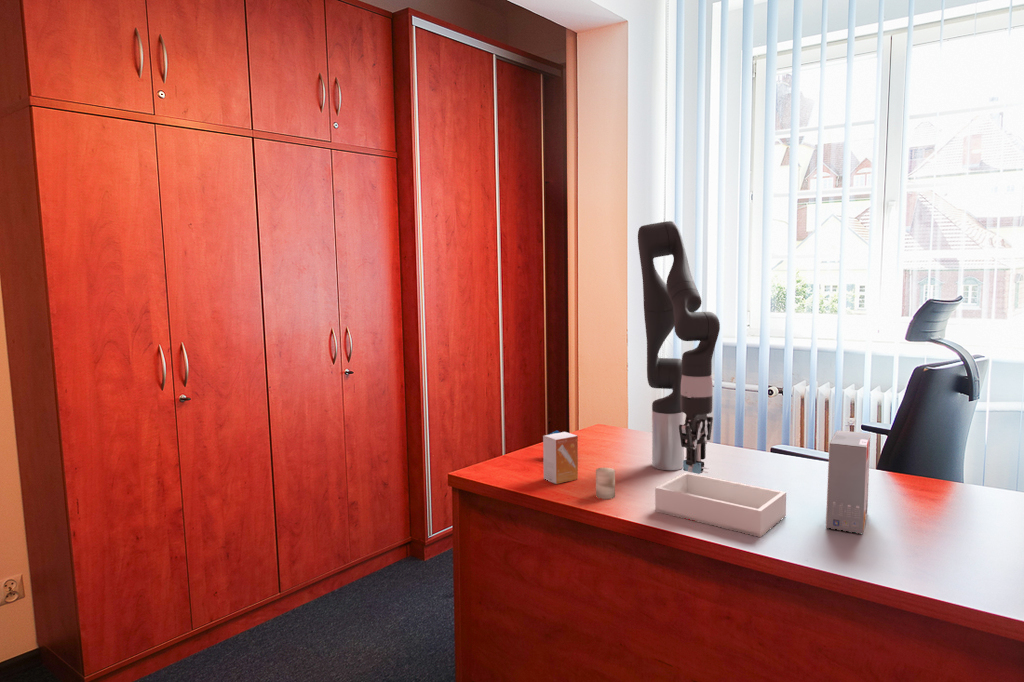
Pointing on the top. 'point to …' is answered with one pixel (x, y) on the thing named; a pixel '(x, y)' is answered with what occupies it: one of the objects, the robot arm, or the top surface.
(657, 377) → the robot arm
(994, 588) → the top surface
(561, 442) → the small box
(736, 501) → the tote
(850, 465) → the hard drive box
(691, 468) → the push button
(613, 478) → the maple cylinder
